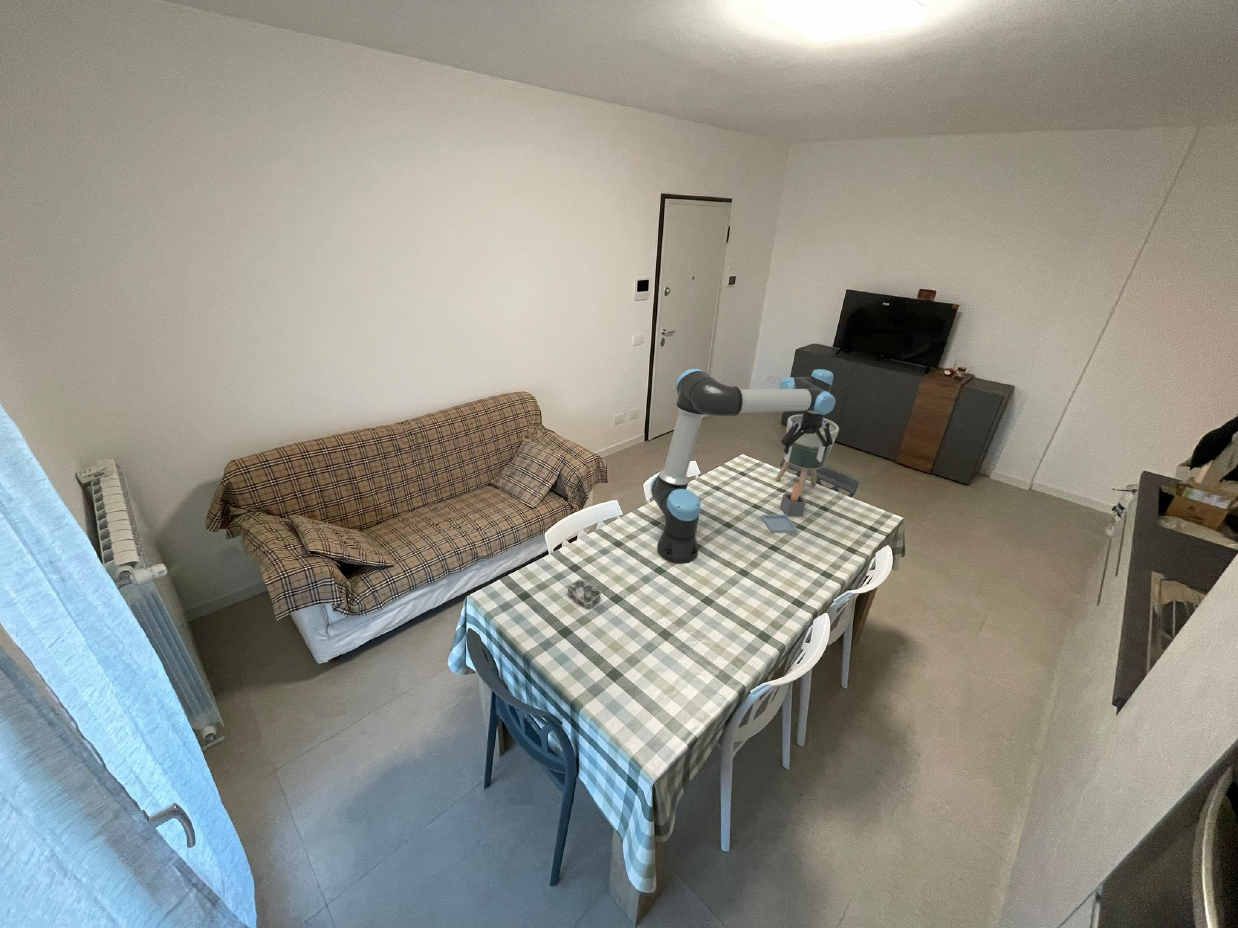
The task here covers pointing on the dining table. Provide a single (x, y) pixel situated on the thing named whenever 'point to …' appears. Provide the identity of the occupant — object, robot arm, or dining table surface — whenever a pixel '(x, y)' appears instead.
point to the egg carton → (588, 592)
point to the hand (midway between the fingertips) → (802, 460)
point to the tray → (779, 524)
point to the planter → (807, 451)
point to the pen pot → (792, 506)
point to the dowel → (795, 492)
